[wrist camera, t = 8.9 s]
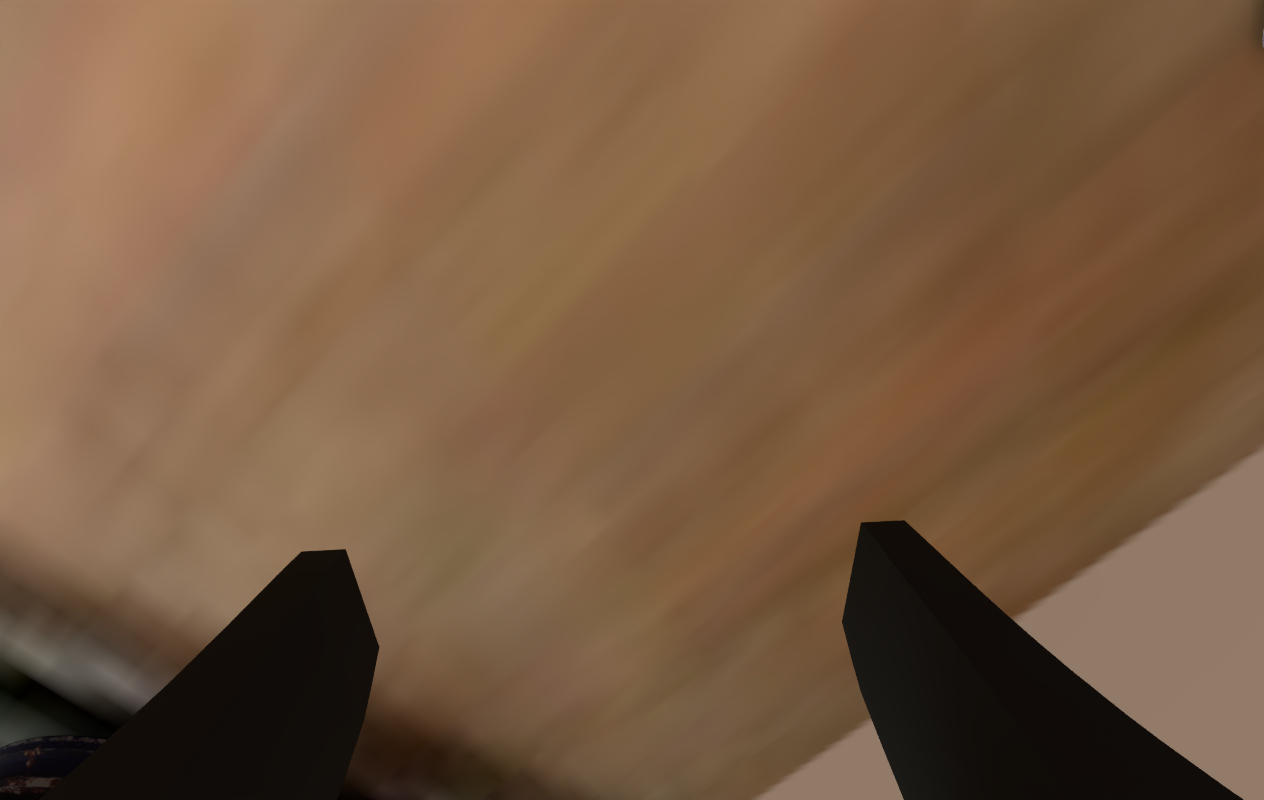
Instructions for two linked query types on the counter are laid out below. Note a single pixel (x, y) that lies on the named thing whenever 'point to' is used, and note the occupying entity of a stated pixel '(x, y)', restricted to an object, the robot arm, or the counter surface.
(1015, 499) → the counter surface
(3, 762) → the storage jar
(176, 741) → the robot arm
